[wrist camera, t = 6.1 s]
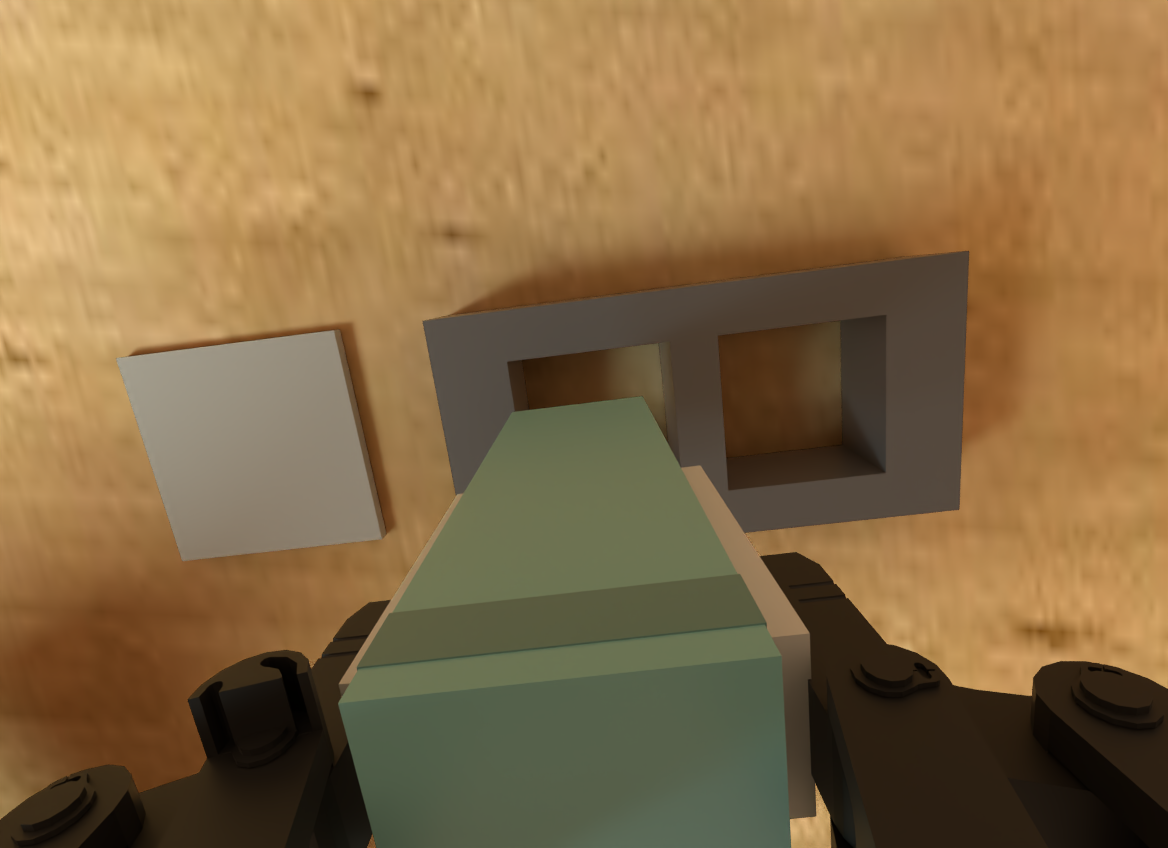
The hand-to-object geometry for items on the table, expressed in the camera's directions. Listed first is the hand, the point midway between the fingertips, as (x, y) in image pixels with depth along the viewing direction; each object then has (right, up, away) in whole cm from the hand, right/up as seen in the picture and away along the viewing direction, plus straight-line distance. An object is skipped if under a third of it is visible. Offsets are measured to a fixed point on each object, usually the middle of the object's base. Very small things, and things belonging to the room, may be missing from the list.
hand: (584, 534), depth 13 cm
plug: (0, +1, +5) cm, 5 cm away
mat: (-15, +1, +13) cm, 20 cm away
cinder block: (+4, +4, +12) cm, 14 cm away
